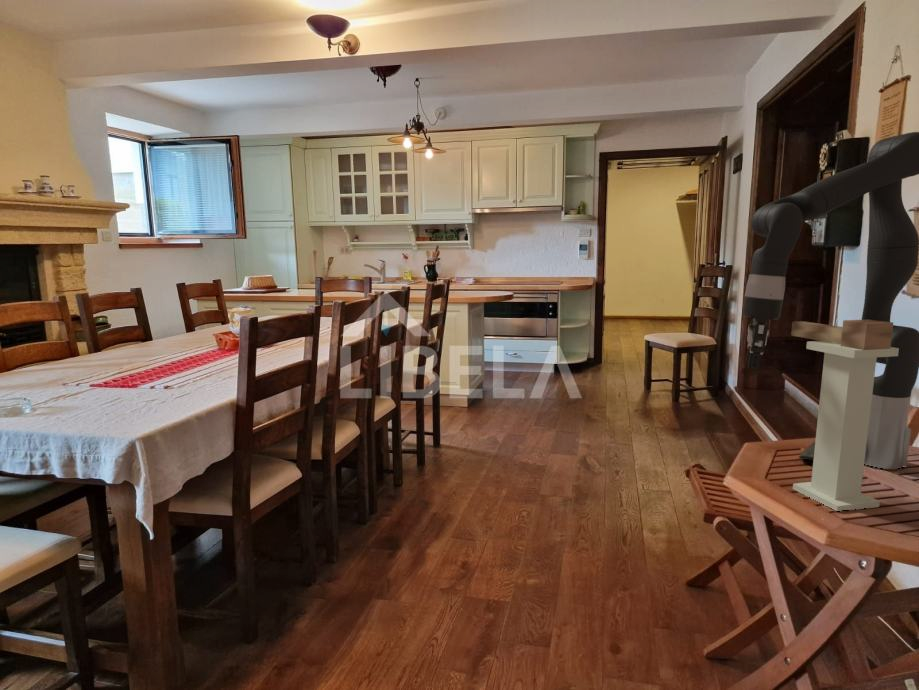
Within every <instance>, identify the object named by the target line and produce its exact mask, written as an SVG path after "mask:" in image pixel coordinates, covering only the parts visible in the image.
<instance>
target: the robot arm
mask: <svg viewBox="0 0 919 690" xmlns="http://www.w3.org/2000/svg"><path fill="white" fill-rule="evenodd" d="M918 175H919V131H913V132H906V133H903V134H898V135H894V136H889V137H885V138H882V139H880V140H878V141H876V143H874V144H873V145H872V147H871V149H870V151H869V154H868V157H867V161H866V162H864V163H861V164H858V165H856V166H854V167H851V168H848V169H846V170H843V171H840V172H837V173H834V174H832V175H829V176H827V177H824V178H822V179H820V180H818V181H816V182H814V183H812V184H810V185H809V186H806V187H804V188H803V189H801V190H799V191H797V192H795V193H792V194H790V195H787V196H784V197H782V198H779V199H776V200H773V201H772V202H769V203H767V204H765V205H763V206H761V207H760V208H758V209H757V210H756V211H755V212H754V214H753V216H752V218H751V222H750V226H751V229H752V231H753V233H755V235H757V236H759V237H761V238H762V237H763V238H766V240H765V243H764V245H762V247H759V248H758V249H755V250H754V252H753V254H752V259H751V265H750V268H749V269H750V270H749V276H748V279H747V282H746V285H745V286H746V287H745V294H744V299H743V305H742V311H741V314H742V316H744V317H748V318H753V319H751V321H750V324H748V327H747V336H746V338H747V339H746V344H747V346H746V347H747V352H746V359H745V365H747V370H748V371H751V372H759V371H760V366H761V361H762V357H763V354H764V353H765V351H766V347H767V346H766V345H767V343H768V335H769V334H770V327H769V324H767V321H768V320H779V319H780V318H781V315H782V313H781V312H782V307H783V303H784V302H783V301H784V295H785V291H786V290H785V289H786V277H787V270H788V266H789V258H790V257H791V254H792V253H793V250H794V248H795V246H796V243H797V241H798V240H799V237H800V234H801V232H802V229H803V225H804V222H806V221H812V220H815V219H818V218H820V217H822V216H825V215H826V214H828V213H830V212H832V211H833V210H836V209H838V208H839V207H841V206H844V205H845V204H847V203H849V202H851V201H853V200H855V199H857V198H859V197H863V196H864V195H867V194H868V201H869V204H868V206H869V207H868V208H869V209H868V210H869V211H868V213H869V215H868V241H867V253H866V281H865V292H864V302H863V308H862V309H863V310H862V316H861V320H877V321H885V322H891V315H892V308H893V305H894V302H895V300H896V299H897V296H898V295H899V294H900V293H901V291H903V289H904V287H906V286H907V284H908V282H910V280H911V278H912V277H913V276H914V274H915V273H916V270H917V267H918V264H919V233H918V231H917V229H916V226H915V224H914V222H913V221H912V219H911V217H910V215H909V214H908V212H907V211H906V208H905V206H904V203H903V197H902V196H903V195H902V193H903V192H902V188H903V185H902V184H903V179H907V178H910V177H911V178H912V177H914V176H918ZM891 347H894V348H899V352H898V356H892V357H877V359H876V364H881V365H885V367H884V370H883V373H882V374H880V375H878V376H874V384H873V392H872V401H871V409H870V418H869V426H868V435H867V443H866V452H865V460H864V464H865V465H864V466H867V465H869V466H868V467H870V466H873V467H872V468H875V467H877V468H876V469H880V468H883V469H882V470H899V469H898V468H900V467H903V466H906V467H907V465H908V457H909V450H910V449H909V448H910V443H911V442H910V441H911V433H912V429H911V428H910V427H909V426H908V421H909V413H910V405H911V399H912V398H911V397H912V393H913V389H914V387H915V385H916V383H917V379H918V374H919V330H917V329H916V328H915V327H914V328H913V327H908V326H905V325H904V326H903V325H894V324H893V330H892V338H891ZM900 469H901V468H900Z"/></svg>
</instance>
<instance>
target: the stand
mask: <svg viewBox="0 0 919 690" xmlns="http://www.w3.org/2000/svg"><path fill="white" fill-rule="evenodd" d="M805 347H806V350H811V351H816V352H821V353H824V355H823V366H822V374H821V382H820V383H821V385H820V394H819V401H818V402H819V404H818V413H817V422H816V423H817V424H816V433H815V441H814V442H815V451H814V460H812V462H813V463H812V471H811V472H812V473H811V481H806V482H795V483H793V484H792V490H794V491H796V492H797V493H800V494H801V495H803V494H804V495H803V496H805V497H807V498H809V497H810V499H811V500H813V499H814V500H813V501H815V500H816V501H815V502H817V501H818V502H817V503H819V502H820V503H819V504H821V503H822V504H821V505H823V504H824V505H823V506H824V507H826V506H828V507H830V508H832V509H834V510H836V511H840V512H843V511H842V510H849V511H856V510H865V509H864V508H866V509H874V508H879V507H880V502H881V501H880V500H879V499H876V498H873V497H872V496H869V495H867V494H866V493H863V492H862V483H863V476H864V474H863V473H864V469H865V468H864V467H865V465H864V460H865V452H866V443H867V435H868V426H869V418H870V409H871V401H872V392H873V384H874V377H876V375H875V374H876V367H877V362H876V359H877V357H892V356H898V352H899V348H894V347H890V349H876V350H861V349H855V348H850V347H844V346H841V344H836V343H830V342H825V341H819V340H813V341H806V346H805ZM828 507H827V508H828ZM830 508H829V509H830ZM832 509H831V510H832ZM855 509H856V510H855ZM834 510H833V511H834ZM836 511H835V512H836Z"/></svg>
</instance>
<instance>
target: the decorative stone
mask: <svg viewBox="0 0 919 690" xmlns="http://www.w3.org/2000/svg"><path fill="white" fill-rule="evenodd" d="M814 451H815V441H813V443H811V444H810V445H808V446H807V447H806V448H805V449H803V451H801V453H800V454H799V456H798V458H799V459H800V460H801V459H802V460H811V461H813V460H814Z"/></svg>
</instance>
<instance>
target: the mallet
mask: <svg viewBox="0 0 919 690" xmlns="http://www.w3.org/2000/svg"><path fill="white" fill-rule="evenodd" d="M791 323H792V325H791V333H790V335H791V336H792V337H797V338H798V337H799V338H802V339H803V338H804V339H809V340H813V341H825V342H830V343H836V344H841V346H844V347H850V348H855V349H861V350H876V349H890V347H891V338H892V330H893V325H894V322H891V321H890V322H885V321H877V320H862V319H850V320H849V319H848V320H847V319H845V320H844V319H843V320H842V326H838V325H831V324H823V323H817V322H812V321H811V322H809V321H792V322H791Z"/></svg>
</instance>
